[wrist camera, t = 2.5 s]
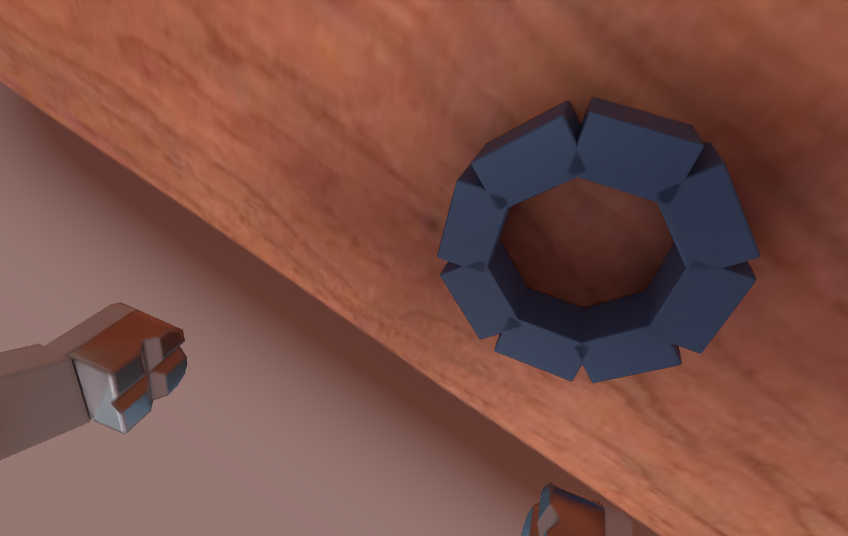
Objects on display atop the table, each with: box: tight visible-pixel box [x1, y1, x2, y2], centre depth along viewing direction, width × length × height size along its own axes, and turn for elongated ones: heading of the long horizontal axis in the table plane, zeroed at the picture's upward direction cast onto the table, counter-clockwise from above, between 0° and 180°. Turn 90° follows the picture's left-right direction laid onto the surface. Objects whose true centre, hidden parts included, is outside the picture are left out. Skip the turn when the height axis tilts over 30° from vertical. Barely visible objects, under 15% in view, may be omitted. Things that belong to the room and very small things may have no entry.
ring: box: [437, 97, 760, 383], centre depth 17 cm, size 10×10×2 cm
